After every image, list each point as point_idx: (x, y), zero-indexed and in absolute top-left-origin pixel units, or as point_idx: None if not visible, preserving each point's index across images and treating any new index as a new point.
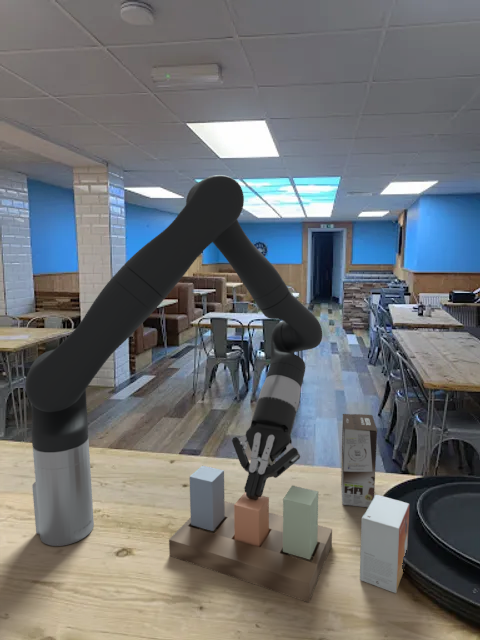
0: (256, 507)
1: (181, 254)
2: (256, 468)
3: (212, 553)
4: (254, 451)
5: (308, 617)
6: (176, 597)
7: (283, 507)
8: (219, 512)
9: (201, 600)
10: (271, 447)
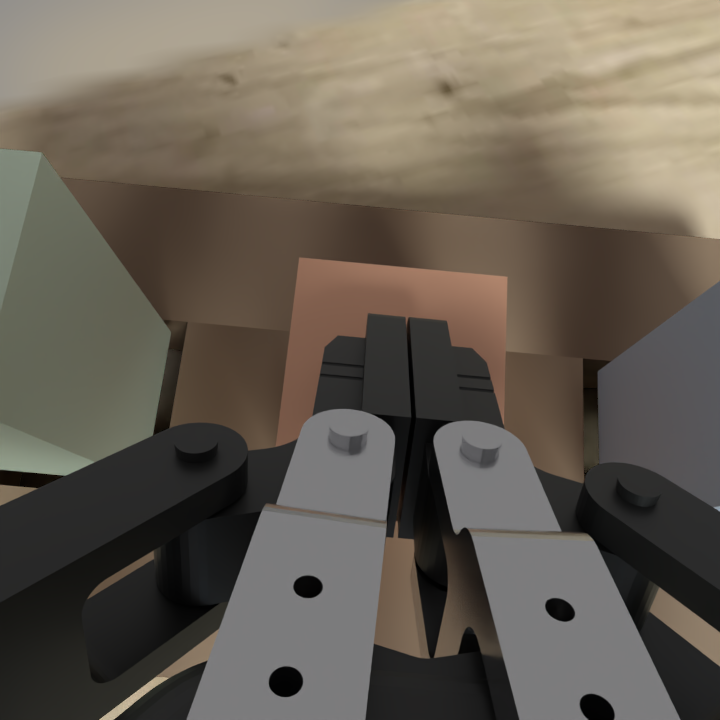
0: (330, 293)
1: None
2: (433, 482)
3: (514, 220)
4: (566, 600)
5: (53, 157)
6: (554, 101)
7: (70, 195)
8: (629, 443)
9: (460, 115)
10: (203, 708)
